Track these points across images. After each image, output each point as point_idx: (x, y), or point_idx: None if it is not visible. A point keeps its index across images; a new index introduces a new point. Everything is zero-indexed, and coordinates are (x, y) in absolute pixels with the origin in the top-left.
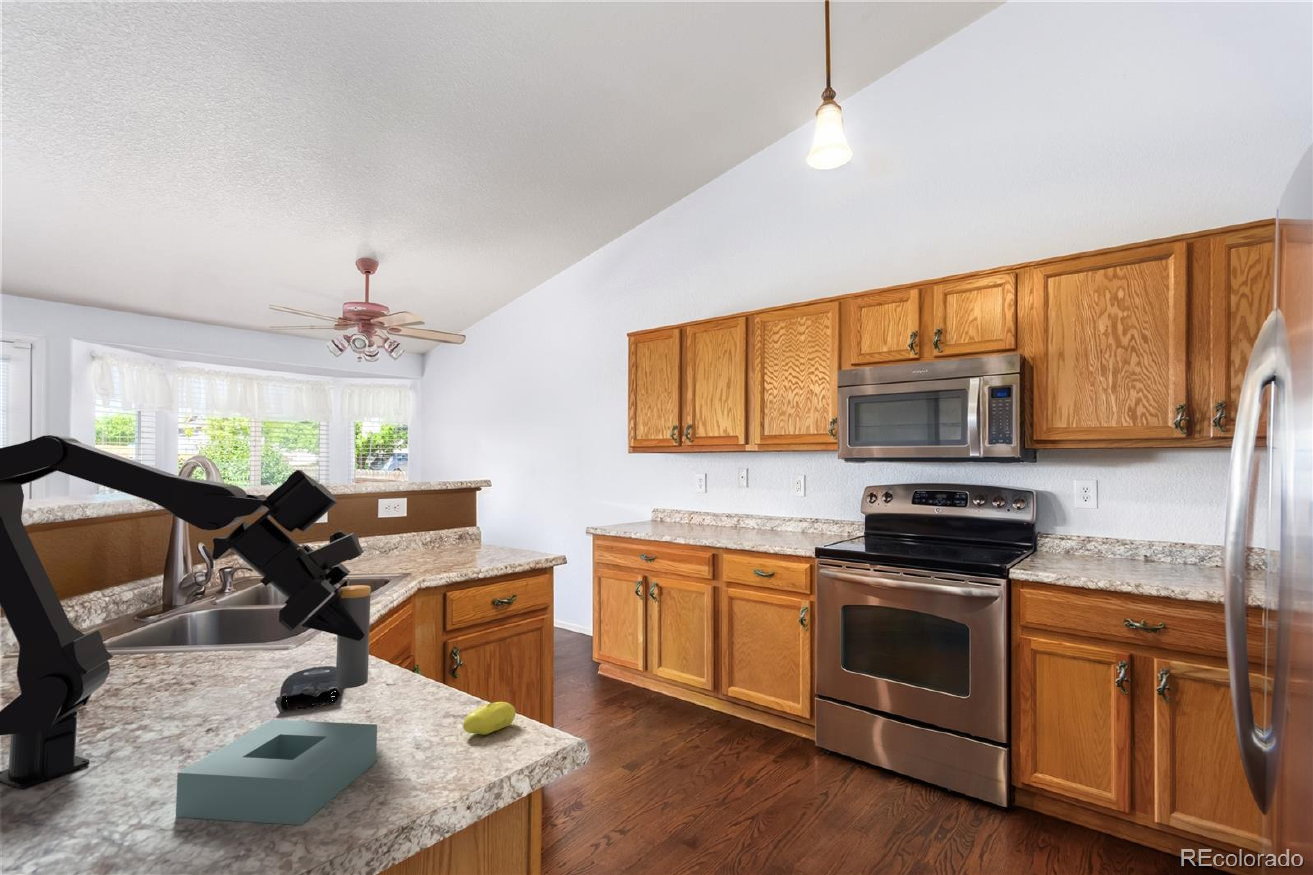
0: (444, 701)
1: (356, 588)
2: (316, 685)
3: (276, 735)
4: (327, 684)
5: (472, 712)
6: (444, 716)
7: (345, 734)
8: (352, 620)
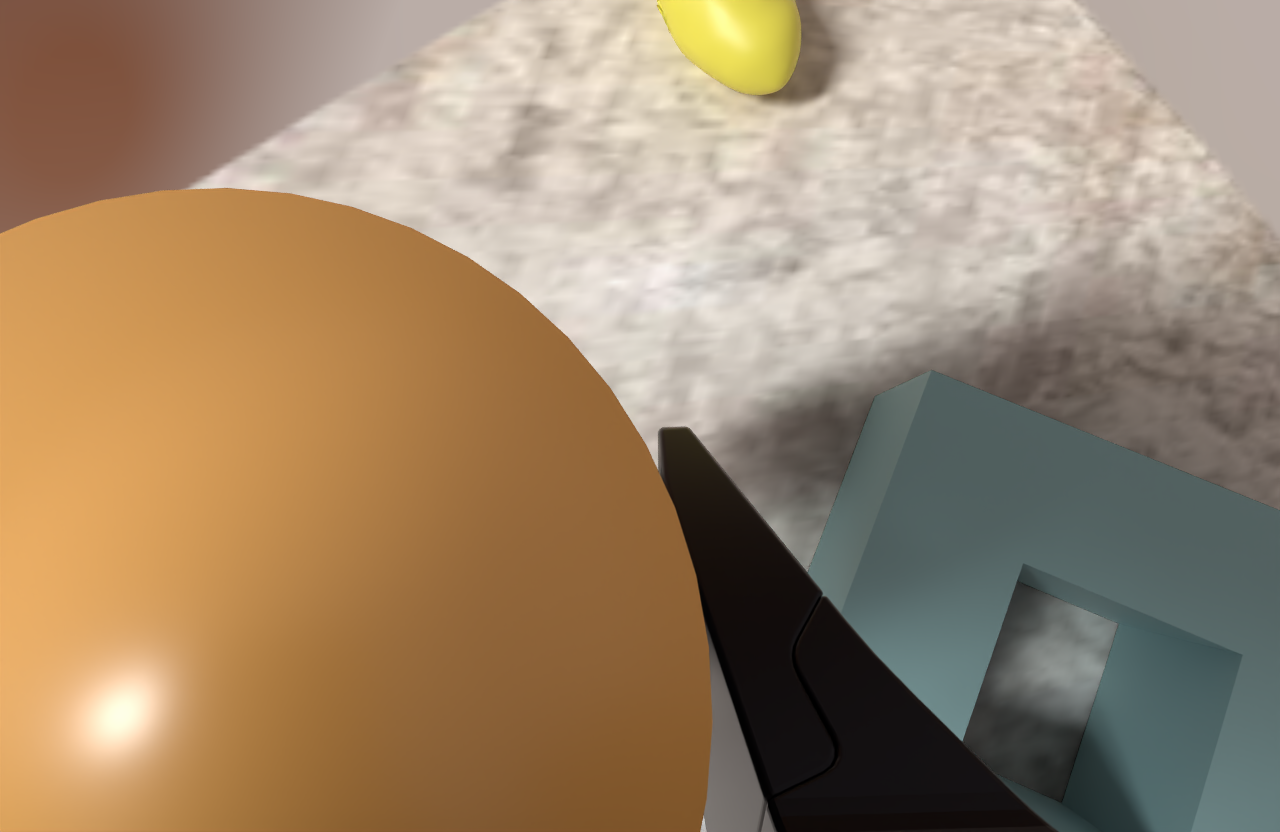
0: (343, 191)
1: (322, 623)
2: None
3: None
4: None
5: (756, 27)
6: (515, 186)
7: (1013, 488)
8: (785, 552)
